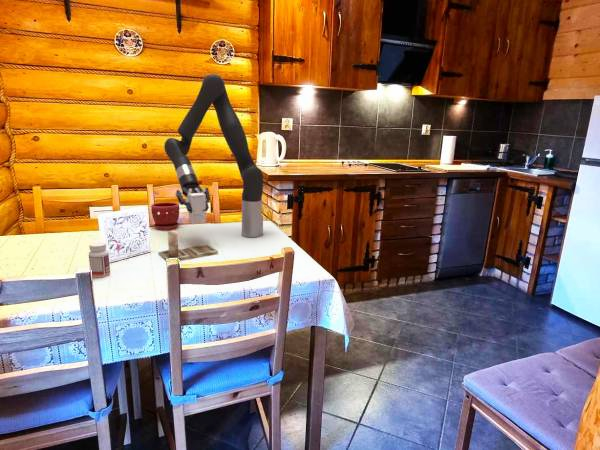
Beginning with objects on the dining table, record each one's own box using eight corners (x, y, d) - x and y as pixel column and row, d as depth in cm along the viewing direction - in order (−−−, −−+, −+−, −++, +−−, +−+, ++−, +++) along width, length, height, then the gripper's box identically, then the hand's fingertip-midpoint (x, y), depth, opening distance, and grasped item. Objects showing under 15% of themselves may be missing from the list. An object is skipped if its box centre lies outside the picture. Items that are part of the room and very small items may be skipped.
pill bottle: (106, 270, 147) (103, 240, 144) (113, 275, 143) (110, 244, 140) (87, 274, 142) (84, 243, 139) (95, 279, 138) (91, 247, 135)
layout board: (205, 247, 175) (205, 243, 174) (219, 256, 165) (219, 251, 164) (157, 256, 163) (157, 250, 162) (168, 266, 153) (168, 260, 152)
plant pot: (185, 227, 205) (184, 203, 202) (164, 232, 194) (163, 208, 191) (168, 222, 211) (167, 200, 208) (146, 228, 201) (145, 204, 198)
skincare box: (192, 224, 167) (191, 195, 163) (188, 222, 170) (187, 193, 167) (206, 223, 170) (206, 194, 167) (203, 220, 173) (202, 192, 170)
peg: (176, 254, 162) (175, 229, 160) (179, 256, 160) (179, 232, 157) (167, 255, 160) (166, 231, 158) (170, 258, 157) (169, 233, 155)
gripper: (172, 173, 166) (184, 207, 160) (205, 171, 175) (218, 204, 169) (168, 184, 172) (179, 217, 166) (201, 182, 180) (212, 213, 174)
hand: (199, 210), depth 167 cm, fingers closed on skincare box, 6 cm apart
